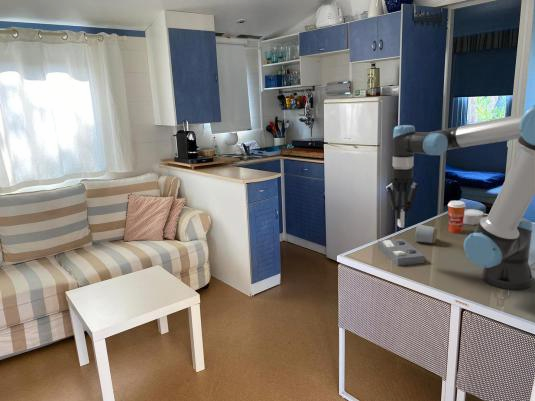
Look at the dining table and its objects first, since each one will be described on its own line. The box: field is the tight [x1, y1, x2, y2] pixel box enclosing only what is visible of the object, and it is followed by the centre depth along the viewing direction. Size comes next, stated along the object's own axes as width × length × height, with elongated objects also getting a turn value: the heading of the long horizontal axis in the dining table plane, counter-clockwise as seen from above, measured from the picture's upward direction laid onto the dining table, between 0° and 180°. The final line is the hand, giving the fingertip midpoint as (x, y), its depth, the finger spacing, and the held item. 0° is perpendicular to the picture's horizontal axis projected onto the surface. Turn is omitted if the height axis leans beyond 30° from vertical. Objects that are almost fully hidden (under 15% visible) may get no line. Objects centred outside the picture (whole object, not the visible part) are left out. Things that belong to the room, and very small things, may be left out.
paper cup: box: [447, 200, 467, 234], centre depth 192 cm, size 8×8×14 cm
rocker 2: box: [392, 251, 405, 256], centre depth 166 cm, size 5×3×1 cm, turn 7°
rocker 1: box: [382, 239, 395, 247], centre depth 176 cm, size 5×3×1 cm, turn 8°
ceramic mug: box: [414, 223, 438, 244], centre depth 184 cm, size 11×8×8 cm
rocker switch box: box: [377, 238, 426, 267], centre depth 171 cm, size 20×11×3 cm, turn 7°
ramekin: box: [463, 208, 485, 226], centre depth 204 cm, size 11×11×5 cm
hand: (400, 226), depth 161 cm, fingers closed
